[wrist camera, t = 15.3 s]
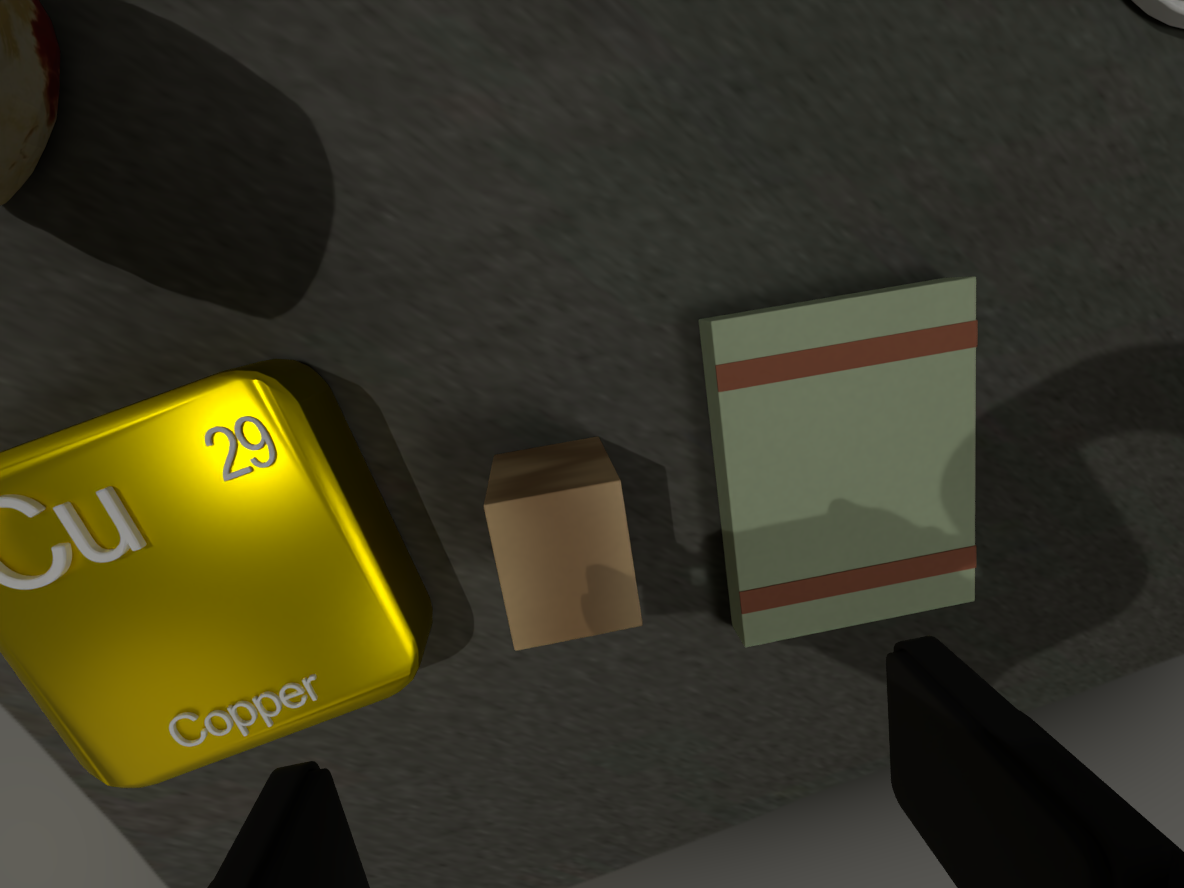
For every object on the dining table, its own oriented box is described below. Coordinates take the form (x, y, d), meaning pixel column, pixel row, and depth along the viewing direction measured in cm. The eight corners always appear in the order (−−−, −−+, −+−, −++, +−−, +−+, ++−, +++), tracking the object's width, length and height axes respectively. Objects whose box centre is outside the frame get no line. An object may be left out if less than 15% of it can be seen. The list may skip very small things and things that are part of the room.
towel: (946, 277, 29) (977, 276, 27) (948, 582, 33) (976, 602, 31) (698, 319, 28) (711, 321, 26) (732, 626, 32) (745, 648, 30)
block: (598, 435, 29) (620, 479, 22) (617, 551, 30) (643, 626, 23) (493, 454, 28) (483, 505, 22) (517, 570, 30) (514, 651, 23)
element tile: (162, 735, 30) (96, 816, 25) (-17, 462, 26) (-134, 499, 22) (448, 629, 30) (433, 690, 26) (312, 343, 26) (267, 353, 22)
